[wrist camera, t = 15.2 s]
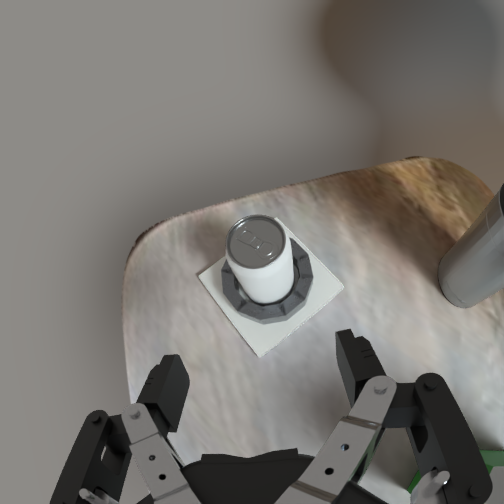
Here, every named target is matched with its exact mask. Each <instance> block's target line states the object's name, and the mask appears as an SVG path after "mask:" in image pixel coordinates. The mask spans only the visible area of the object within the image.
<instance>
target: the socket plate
mask: <svg viewBox="0 0 504 504" xmlns="http://www.w3.org/2000/svg"><path fill="white" fill-rule="evenodd" d="M274 219H275V220H276V221H277V222H279V223H280V225H281V226H282V227H283V229H284V230H285V231H286V233H287V234H288V236H289V238H293V239H294V240H295V241H296V242H297V243H298V244H299V245H300V246H301V247H302V248H303V249H304V250H305V251H306V252H307V253H308V254H309V259H310V263H311V268H312V272H313V285H312V288H311V290H310V293H309V296H308V299H307V302H306V304H305V306H304V307H303V308H302V309H300V310H299V311H298V312H297V313H296V314H294V315H293V316H292V317H291V318H290V319H288V320H287V321H282V322H277V323H271V324H265V325H263V324H260V323H258V322H255V321H252V320H250V319H247V318H244V317H242V316H241V315H240V314H239V313H238V312H237V310H236V309H235V308H234V307H233V305H232V304H231V303H230V301H229V300H228V299H227V297H226V296H225V295H224V294H223V288H222V277H221V269H222V267H223V265H224V263H225V261H226V259H227V258H226V255H225V256H224V257H223V258H221V259H220V260H219V261H217V262H216V263H215V264H213V265H212V266H211V267H209V268H208V269H207V270H206V271H204V272H203V273H202V274H200V275H199V276H198V277H199V278H200V280H201V281H202V283H203V284H204V285H205V287H206V288H207V290H208V291H209V292H210V294H211V295H212V296H213V298H214V299H215V301H216V302H217V303H218V305H219V306H220V307H221V309H222V310H223V311H224V313H225V314H226V315H227V317H228V318H229V319H230V321H231V322H232V323H233V325H234V326H235V327H236V329H237V330H238V331H239V333H240V334H241V335H242V336H243V338H244V339H245V340H246V342H247V343H248V344H249V345H250V347H251V348H252V349H253V351H254V352H255V353H256V354H257V356H258V357H259V358H261V357H262V356H264V355H265V354H266V353H268V352H269V351H270V350H271V349H273V348H274V347H275V346H277V345H278V344H279V343H280V342H282V341H283V340H284V339H285V338H287V337H288V336H289V335H290V334H292V333H293V332H294V331H295V330H296V329H298V328H299V327H300V326H301V325H302V324H304V323H305V322H306V321H307V320H308V319H310V318H311V317H312V316H313V315H314V314H316V313H317V312H318V311H319V310H320V309H321V308H323V307H324V306H325V305H326V304H327V303H328V302H329V301H331V300H332V299H333V298H334V297H335V296H336V295H337V294H338V293H339V292H341V291H342V290H343V289H344V287H345V286H344V285H343V284H342V283H341V282H340V281H339V280H338V279H337V278H336V277H335V276H334V275H333V274H332V273H331V272H330V271H329V270H328V269H327V268H326V267H325V265H324V264H323V263H322V262H321V261H320V260H319V259H318V258H317V257H316V256H315V255H314V254H313V253H312V252H311V251H310V250H309V249H308V248H307V247H306V246H305V245H304V244H303V243H302V242H301V241H300V240H299V239H298V238H297V237H296V236H295V235H294V234H293V233H292V232H291V231H290V230H289V229H288V228H287V227H286V226H285V225H284V224H283V223H282V222H281V221H280V220H279V219H278V218H277V217H276V218H274ZM293 272H294V286H293V289H292V292H291V294H290V295H292V294H293V293H294V292H295V289H296V287H297V284H298V281H299V274H298V269H297V268H296V267H295V266H294V265H293ZM238 284H239V293H240V295H241V296H242V298H243V299H244V300H245V301H247V302H250V303H252V304H255V305H258V306H261V307H264V306H262V305H259V304H257V303H255V302H254V301H252V300H251V299H250V298H249V296H248V295H247V294H246V292H245V291H244V289H243V287H242V286H241V284H240V282H239V281H238ZM290 295H289V296H290Z"/></svg>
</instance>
